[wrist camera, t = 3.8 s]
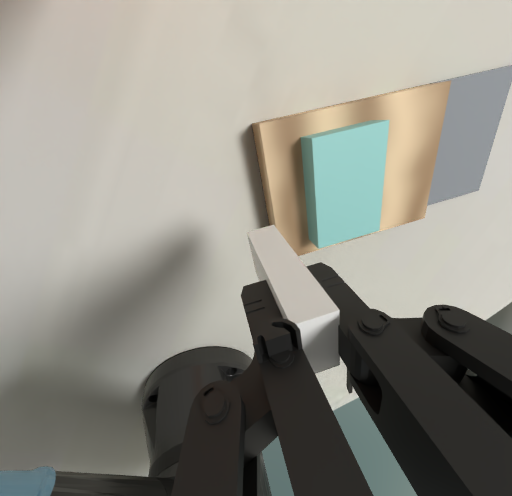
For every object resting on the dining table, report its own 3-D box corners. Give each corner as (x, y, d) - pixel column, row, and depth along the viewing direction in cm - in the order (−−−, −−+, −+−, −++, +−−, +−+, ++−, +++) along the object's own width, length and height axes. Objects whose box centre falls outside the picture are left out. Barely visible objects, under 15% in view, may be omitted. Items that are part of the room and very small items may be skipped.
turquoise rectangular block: (308, 239, 22) (318, 248, 20) (300, 137, 18) (311, 138, 16) (365, 222, 23) (379, 230, 21) (371, 120, 18) (389, 119, 17)
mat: (409, 209, 27) (411, 210, 26) (429, 83, 21) (432, 83, 20) (476, 189, 28) (478, 190, 27) (513, 64, 22) (517, 64, 21)
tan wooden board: (273, 249, 25) (281, 261, 23) (251, 123, 19) (259, 123, 17) (405, 210, 27) (424, 217, 24) (424, 84, 21) (451, 80, 18)
